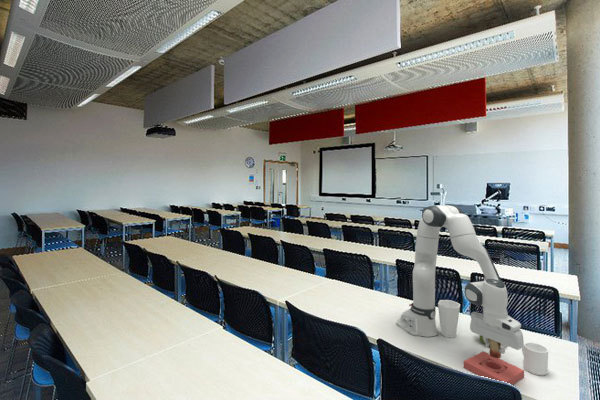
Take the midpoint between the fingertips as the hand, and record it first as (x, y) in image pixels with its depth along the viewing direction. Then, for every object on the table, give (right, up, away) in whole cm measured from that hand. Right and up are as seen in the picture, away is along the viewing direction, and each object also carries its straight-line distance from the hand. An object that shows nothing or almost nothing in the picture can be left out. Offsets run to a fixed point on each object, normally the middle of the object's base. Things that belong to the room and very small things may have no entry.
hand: (495, 350), depth 132 cm
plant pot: (+13, -9, +26) cm, 30 cm away
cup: (-4, -8, +34) cm, 35 cm away
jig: (0, -10, +1) cm, 10 cm away
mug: (+19, -10, +4) cm, 21 cm away
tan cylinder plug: (0, -2, 0) cm, 2 cm away
